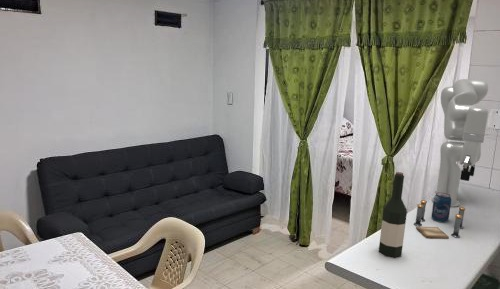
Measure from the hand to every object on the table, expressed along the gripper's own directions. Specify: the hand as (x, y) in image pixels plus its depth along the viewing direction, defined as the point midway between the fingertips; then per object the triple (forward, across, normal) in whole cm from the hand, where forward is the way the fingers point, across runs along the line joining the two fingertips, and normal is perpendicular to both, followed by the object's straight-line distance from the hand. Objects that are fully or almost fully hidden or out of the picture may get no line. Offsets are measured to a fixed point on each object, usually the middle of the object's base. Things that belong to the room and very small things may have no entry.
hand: (466, 177), depth 159 cm
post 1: (+22, +11, -14) cm, 28 cm away
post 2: (+22, +4, -14) cm, 27 cm away
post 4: (+22, +1, 0) cm, 22 cm away
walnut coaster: (+22, +16, -7) cm, 28 cm away
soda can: (+22, -2, -8) cm, 24 cm away
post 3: (+22, +12, +1) cm, 25 cm away
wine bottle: (+22, +45, -14) cm, 52 cm away
